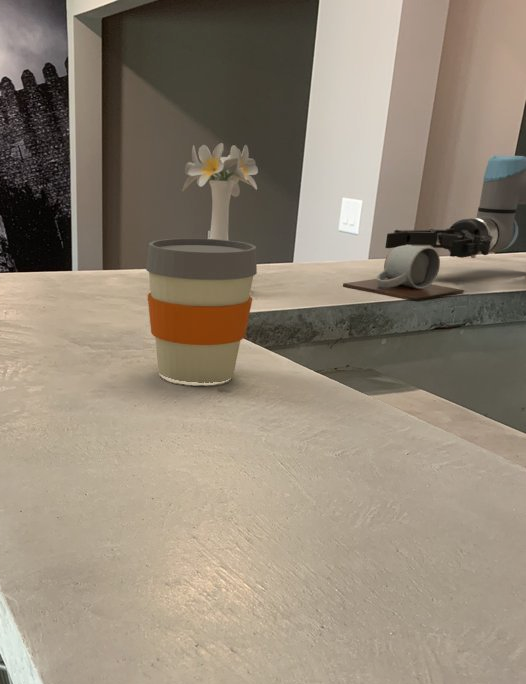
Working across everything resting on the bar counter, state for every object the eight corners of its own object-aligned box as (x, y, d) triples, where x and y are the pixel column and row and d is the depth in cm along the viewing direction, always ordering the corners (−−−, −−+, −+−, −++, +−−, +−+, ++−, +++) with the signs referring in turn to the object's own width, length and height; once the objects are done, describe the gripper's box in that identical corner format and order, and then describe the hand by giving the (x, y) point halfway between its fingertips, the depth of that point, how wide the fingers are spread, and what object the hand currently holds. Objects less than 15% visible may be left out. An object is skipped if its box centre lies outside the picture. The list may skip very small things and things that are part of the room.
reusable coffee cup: (254, 392, 86) (266, 254, 80) (144, 390, 86) (146, 251, 80) (241, 362, 98) (250, 239, 91) (143, 360, 97) (145, 237, 91)
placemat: (463, 293, 146) (464, 290, 146) (417, 301, 138) (417, 297, 137) (389, 279, 158) (389, 276, 158) (342, 286, 150) (342, 283, 149)
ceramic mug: (406, 280, 153) (412, 240, 150) (437, 287, 147) (444, 246, 143) (365, 285, 149) (370, 243, 145) (395, 292, 142) (401, 249, 139)
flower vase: (244, 283, 150) (255, 143, 139) (252, 301, 133) (265, 144, 123) (178, 281, 150) (184, 141, 140) (178, 299, 134) (184, 142, 123)
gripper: (526, 263, 153) (478, 274, 140) (413, 249, 169) (360, 257, 156) (535, 224, 150) (487, 230, 136) (419, 213, 166) (365, 218, 153)
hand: (419, 244), depth 146 cm, fingers open, 13 cm apart
